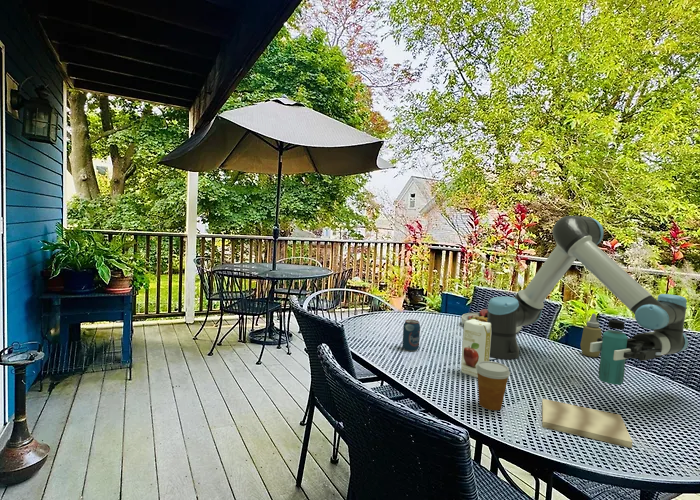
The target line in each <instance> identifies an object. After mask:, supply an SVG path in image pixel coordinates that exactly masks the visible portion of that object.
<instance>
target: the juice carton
mask: <svg viewBox="0 0 700 500" xmlns="http://www.w3.org/2000/svg"><path fill="white" fill-rule="evenodd" d="M490 344H491V323H489V322H481V321H478V320H475V319H471V320H468V321H465V324H463V331H462V345H461V346H462V347H461V359H460V360H461V361H460V367H461V368H460V369H461V373H462V374H465V375H467V376H471V377H473V378H474V377H475V378H477V379H478V374H477V370H476V367H477V365H478V363H479V362H482V361H490V357H491V356H490Z"/></svg>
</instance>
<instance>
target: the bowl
mask: <svg viewBox="0 0 700 500" xmlns="http://www.w3.org/2000/svg"><path fill="white" fill-rule="evenodd" d="M487 317H488V308H482V309H480V310H479V312H467V313H463V314H462V315H461V322H462V324H463V325H464V324H465V321H468V320H471V319H475V320H478V321H481V322H487ZM522 329H523V326H519V327H517V328H516V334H517V333H519V332H520V331H521V330H522Z"/></svg>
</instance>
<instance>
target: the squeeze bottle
mask: <svg viewBox="0 0 700 500" xmlns="http://www.w3.org/2000/svg"><path fill="white" fill-rule="evenodd" d="M596 315H597V314H596V313H592V314H591V317H590V320H588V321H586V325H585V326H583V329H582V330H583V331H582V335H581V341H580V350H581V352H582V355H584V356H587V357H591V358H598V357H600V356H599V355H601V351H597V352H590V343H593V342H597V338H603V333H602V328H600V322H599V321H597V316H596Z"/></svg>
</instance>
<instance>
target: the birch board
mask: <svg viewBox="0 0 700 500" xmlns="http://www.w3.org/2000/svg"><path fill="white" fill-rule="evenodd" d="M541 406H542V407H541V413H542V414H541V415H542V418H541V419H542V423H541V424H542V425H541V427H542V428H546V429H551V430H554V431H558V432H563V433H565V434H566V433H567V434H571V435H576V436H580V437H582V438H583V437H584V438H588V439H593V440H596V441H602V442H604V443H605V442H606V443H610V444H613V445H618V446H622V447H627V448H629V449H630V448H631V449H632V448H633V439H632V438H631V436H630V433H629V431H628V429H627V427H626V424H625V422H624V419H623V417H622V415H621V414H618V413H613V412H608V411H603V410H599V409H594V408H589V407H584V406H579V405H575V404H569V403H565V402H561V401H560V402H559V401H556V400H551V399H545V398H542V401H541Z"/></svg>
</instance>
